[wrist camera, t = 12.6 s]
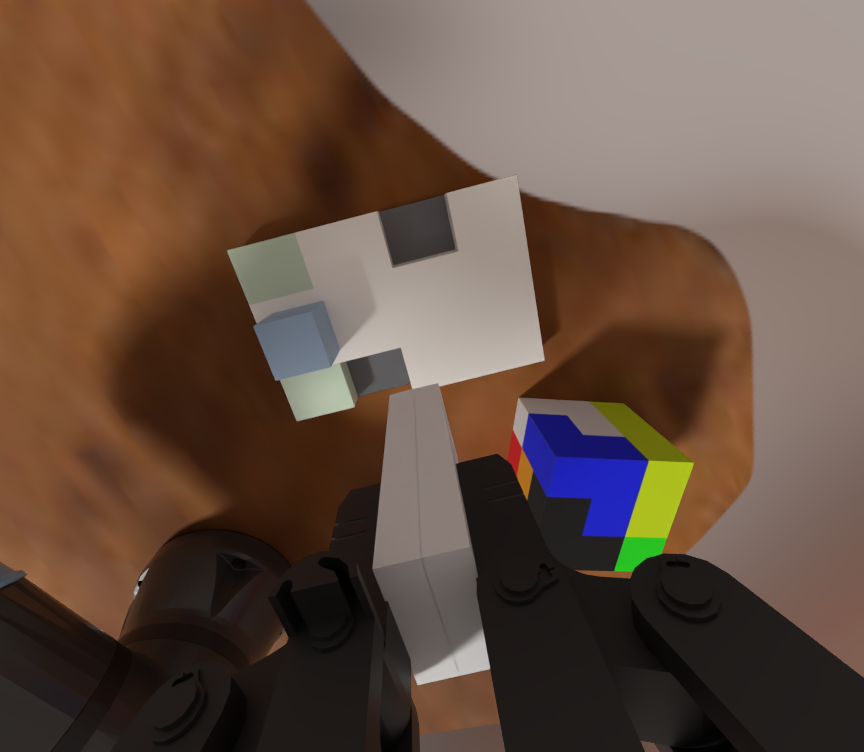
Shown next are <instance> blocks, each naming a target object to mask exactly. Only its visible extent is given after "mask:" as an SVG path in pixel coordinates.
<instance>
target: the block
mask: <svg viewBox="0 0 864 752" xmlns="http://www.w3.org/2000/svg"><path fill="white" fill-rule="evenodd" d="M253 327H254V330H255V332H256V335H257V337H258V339H259V342H260V344H261V347H262V349H263V352H264V354H265V356H266V359H267V361H268V364H269V366H270V369H271V371H272V373H273V376H274V378H275V381H277V380H281V379H285V378H289V377H293V376H297V375H301V374H305V373H309V372H313V371H317V370H322V369H326V368H330V367H331V366H332V364H333V363H334V361H335V359H336V357H337V355H338V353H339V351H340V348H339V345H338V342H337V339H336V336H335V333H334V331H333V328H332V325H331V322H330V319H329V316H328V313H327V310H326V307H325V304H324V301H319V302H315V303H311V304H307V305H303V306H299V307H295V308H291V309H287V310H283V311H279V312H276V313H272V314H270V315H269V316H267V317H266V318H264V319H263V320H262V321H260V322H259V323H257V324H256V325H254V326H253Z"/></svg>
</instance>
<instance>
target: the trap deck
mask: <svg viewBox="0 0 864 752" xmlns="http://www.w3.org/2000/svg"><path fill="white" fill-rule="evenodd" d="M227 252H228V255H229V257H230V260H231V262H232V265H233V267H234V269H235V272H236V274H237V277H238V279H239V282H240V284H241V287H242V289H243V291H244V294H245V296H246V299H247V301H248V304H249V306H250V308H251V311H252V313H253V316H254V318H255V321H256V323H259V322H260V321H262V320H263V319H264V318H266V317H267V316H269V315H270V314H272V313H276V312H279V311H283V310H287V309H291V308H295V307H299V306H303V305H307V304H311V303H315V302H319V301H324V304H325V307H326V310H327V313H328V316H329V319H330V322H331V325H332V328H333V331H334V333H335V336H336V339H337V342H338V345H339V348H340V351H339V353H338V355H337V357H336V359H335V361H334V363H333V364H332V366H331V367H330V368H326V369H322V370H317V371H313V372H309V373H305V374H301V375H297V376H293V377H289V378H285V379H281V380H280V382H281V384H282V386H283V389H284V391H285V394H286V396H287V399H288V401H289V404H290V406H291V408H292V411H293V413H294V416H295V418H296V421H301V420H305V419H309V418H313V417H317V416H321V415H325V414H329V413H333V412H337V411H342V410H346V409H350V408H354V407H355V405H356V402H357V398H358V396H362V395H366V394H370V393H374V392H378V391H382V390H386V389H390V388H395V387H399V386H403V385H407V384H411V386H412V389H416V388H420V387H424V386H428V385H432V384H436V383H438V384H439V386H443V385H447V384H451V383H455V382H460V381H464V380H468V379H472V378H476V377H480V376H484V375H488V374H492V373H496V372H500V371H504V370H508V369H512V368H517V367H521V366H525V365H529V364H533V363H537V362H541V361H545V360H544V353H543V347H542V340H541V333H540V327H539V320H538V313H537V306H536V300H535V293H534V286H533V280H532V273H531V266H530V259H529V253H528V246H527V239H526V233H525V226H524V219H523V212H522V206H521V199H520V192H519V186H518V179H517V175H513V176H509V177H505V178H502V179H498V180H494V181H490V182H486V183H483V184H479V185H475V186H471V187H467V188H463V189H460V190H456V191H452V192H448V193H446V194H444V195H441V196H438V197H434V198H430V199H426V200H422V201H419V202H415V203H411V204H407V205H403V206H399V207H396V208H392V209H388V210H384V211H380V212H378V211H376V212H372V213H368V214H364V215H360V216H357V217H353V218H349V219H345V220H341V221H338V222H334V223H330V224H326V225H322V226H319V227H315V228H311V229H307V230H303V231H299V232H296V233H292V234H288V235H284V236H280V237H277V238H273V239H269V240H265V241H261V242H257V243H254V244H250V245H246V246H242V247H238V248H235V249H231V250H227Z"/></svg>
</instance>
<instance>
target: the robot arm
mask: <svg viewBox="0 0 864 752" xmlns="http://www.w3.org/2000/svg"><path fill="white" fill-rule="evenodd" d="M26 575H27V574H26V573H25V572H24V571H22V570H20V571H15V570H13V569H11V568H10V567H8V566H6V565H5V564H3V563H1V562H0V752H420V739H419V721H418V716H417V711H416V708H415V705H414V703H413V700H412V698H411V669H412V672H413V674H414V677H415V679H416V682H417V684H418V685H420V684H425V683H429V682H434V681H438V680H443V679H447V678H451V677H456V676H460V675H465V674H469V673H474V672H478V671H483V670H487V669H490V670H491V676H492V681H493V687H494V692H495V697H496V703H497V708H498V714H499V719H500V725H501V730H502V736H503V741H504V746H505V751H506V752H645V750H644V748H643V746H642V744H641V742H640V740H641V741H646V742H651V743H655V745H656V747H657V748H658V750H659V751H660V752H864V678H863V677H862V676H860V675H859V674H858V673H857V672H855V671H854V670H853V669H851V668H850V667H849V666H848V665H846V664H845V663H844V662H842V661H841V660H840V659H838V658H837V657H836V656H835V655H833V654H832V653H831V652H829V651H828V650H827V649H826V648H824V647H823V646H822V645H820V644H819V643H818V642H817V641H815V640H814V639H813V638H811V637H810V636H809V635H807V634H806V633H805V632H803V631H802V630H801V629H800V628H798V627H797V626H796V625H794V624H793V623H792V622H790V621H789V620H788V619H787V618H785V617H784V616H783V615H781V614H780V613H779V612H778V611H776V610H775V609H774V608H772V607H771V606H769V605H768V604H767V603H766V602H764V601H763V600H762V599H761V598H759V597H758V596H757V595H755V594H754V593H753V592H752V591H750V590H749V589H748V588H746V587H745V586H744V585H742V584H741V583H740V582H738V581H737V580H736V579H735V578H733V577H732V576H731V575H730V574H728V573H727V572H725V571H723V570H721V569H720V568H718V567H716V566H715V565H713V564H711V563H709V562H708V561H705V560H702V559H698V558H695V557H692V556H689V555H685V554H665V553H664V554H660V555H657V556H653V557H649V558H646V559H645V560H644V561H643V562H641V563H640V564H639V565H638V566H636V567H635V568H634V571H633V573H632V576H631V578H630V579H628V578H612V577H599V576H592V575H586V574H583V573H580V572H577V571H574V570H572V569H570V568H568V567H567V566H565V565H563V564H562V563H560V562H559V561H558V560H557V559H556V558H555V557H554V556H553V555H552V554H551V552H550V551H549V549H548V547H547V546H546V543H545V541H544V539H543V536H542V534H541V532H540V529H539V527H538V525H537V523H536V520H535V518H534V516H533V513H532V511H531V509H530V506H529V504H528V502H527V499H526V497H525V495H524V493H523V490H522V488H521V485H520V483H519V482H518V478H517V476H516V474H515V471H514V469H513V467H512V464H510V463H509V462H508V461H506V460H505V459H504V458H502V457H501V456H500V455H498V454H494V455H490V456H486V457H482V458H478V459H473V460H469V461H465V462H461V463H459V462H458V458H457V454H456V450H455V446H454V442H453V438H452V434H451V431H450V427H449V423H448V419H447V415H446V411H445V407H444V403H443V399H442V395H441V392H440V388H439V384H438V383H436V384H432V385H428V386H424V387H420V388H416V389H412V390H407V391H403V392H399V393H395V394H391V395H390V398H389V408H388V418H387V428H386V438H385V448H384V458H383V468H382V478H381V483H380V484H376V485H372V486H368V487H363V488H359V489H355V490H351V491H350V493H349V494H348V495H347V497H346V498H345V500H344V501H343V502H342V504H341V505H340V506H339V509H338V514H337V518H336V522H335V528H334V530H333V535H332V542H331V543H330V547H329V551H322V552H319V553H316V554H314V555H311V556H308V557H306V558H304V559H303V560H301V561H300V562H298V563H297V564H295V565H294V566H292V567H291V568H290V566H289V565H288V563H287V562H286V561H285V559H284V558H283V557H282V556H281V555H280V554H279V553H278V552H276V551H275V550H274V549H272V548H271V547H270V546H268V545H266V544H265V543H263V542H261V541H259V540H257V539H255V538H252V537H250V536H247V535H244V534H240V533H236V532H231V531H223V530H204V531H197V532H192V533H188V534H185V535H182V536H179V537H177V538H175V539H173V540H171V541H170V542H168V543H166V544H165V545H164V546H163V547H162V548H160V549H159V550H158V552H157V553H156V554H155V555H154V557H153V558H152V559H151V561H150V562H149V563H148V565H147V566H146V567H145V569H144V570H143V571H142V573H141V575H140V577H139V579H138V581H137V583H136V586H135V590H134V595H133V602H132V604H131V606H130V608H129V610H128V613H127V616H126V618H125V621H124V624H123V627H122V631H121V634H120V637H119V639H118V640H117V641H116V640H115V639H114V638H113V637H111V636H110V635H108V634H107V633H105V632H104V631H102V630H100V629H99V628H97V627H96V626H94V625H93V624H91V623H90V622H88V621H87V620H85V619H84V618H82V617H81V616H79V615H78V614H76V613H75V612H73V611H72V610H71V609H69V608H68V607H66V606H65V605H63V604H62V603H60V602H59V601H58V600H56V599H55V598H53V597H52V596H50V595H49V594H48V593H46V592H45V591H43V590H42V589H40V588H39V587H37V586H36V585H35V584H33V583H32V582H30V581H29V580H27V579H26V578H25V576H26ZM284 631H286V633H287V635H288V637H289V638H288V641H287V643H286V644H285V645H284V646H283V647H281V648H280V649H278V650H277V651H275V652H273V653H272V654H270V655H268V656H267V657H266V655H267V654H268V652H269V651H270V649H271V647H272V646H273V644H274V643H275V642H276V641H277V640H278V639H279V637H280V636H281V635H282V633H283V632H284Z"/></svg>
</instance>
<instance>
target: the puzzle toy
mask: <svg viewBox="0 0 864 752" xmlns="http://www.w3.org/2000/svg"><path fill="white" fill-rule="evenodd" d="M508 462H509V463H510V464H512V467H513V469H514V471H515V474H516V476H517V478H518V482H519V483H520V485H521V488H522V490H523V493H524V495H525V497H526V499H527V502H528V504H529V506H530V509H531V511H532V513H533V516H534V518H535V520H536V523H537V525H538V527H539V529H540V532H541V534H542V536H543V539H544V541H545V543H546V546H547V547H548V549H549V551H550V552H551V554H552V555H553V556H554V557H555V558H556V559H557V560H558V561H559V562H560V563H562V564H563V565H565V566H567V567H568V568H570V569H572V570H592V571H634V568H635V567H636V566H638V565H639V564H640V563H641V562H643V561H644V560H645V559H646V558H649V557H653V556H657V555H660V554H661V553H662V550H663V547H664V545H665V542H666V539H667V536H668V534H669V531H670V528H671V525H672V522H673V520H674V517H675V514H676V511H677V509H678V506H679V503H680V500H681V498H682V495H683V492H684V489H685V487H686V484H687V481H688V478H689V475H690V473H691V470H692V467H693V464H694V462H693V461H692V460H690V459H689V458H688V457H687V456H686V455H684V454H683V453H682V452H681V451H680V450H678V449H677V448H676V447H675V446H674V445H673V444H671V443H670V442H669V441H668V440H667V439H665V438H664V437H663V436H662V435H661V434H659V433H658V432H657V431H656V430H655V429H654V428H652V427H651V426H650V425H649V424H648V423H646V422H645V421H644V420H643V419H642V418H641V417H639V416H638V415H637V414H636V413H635V412H633V411H632V410H631V409H630V408H629V407H627V406H626V405H625V404H624V403H607V402H590V401H572V400H555V399H537V398H518V403H517V409H516V415H515V421H514V426H513V432H512V438H511V444H510V449H509V455H508Z"/></svg>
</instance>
